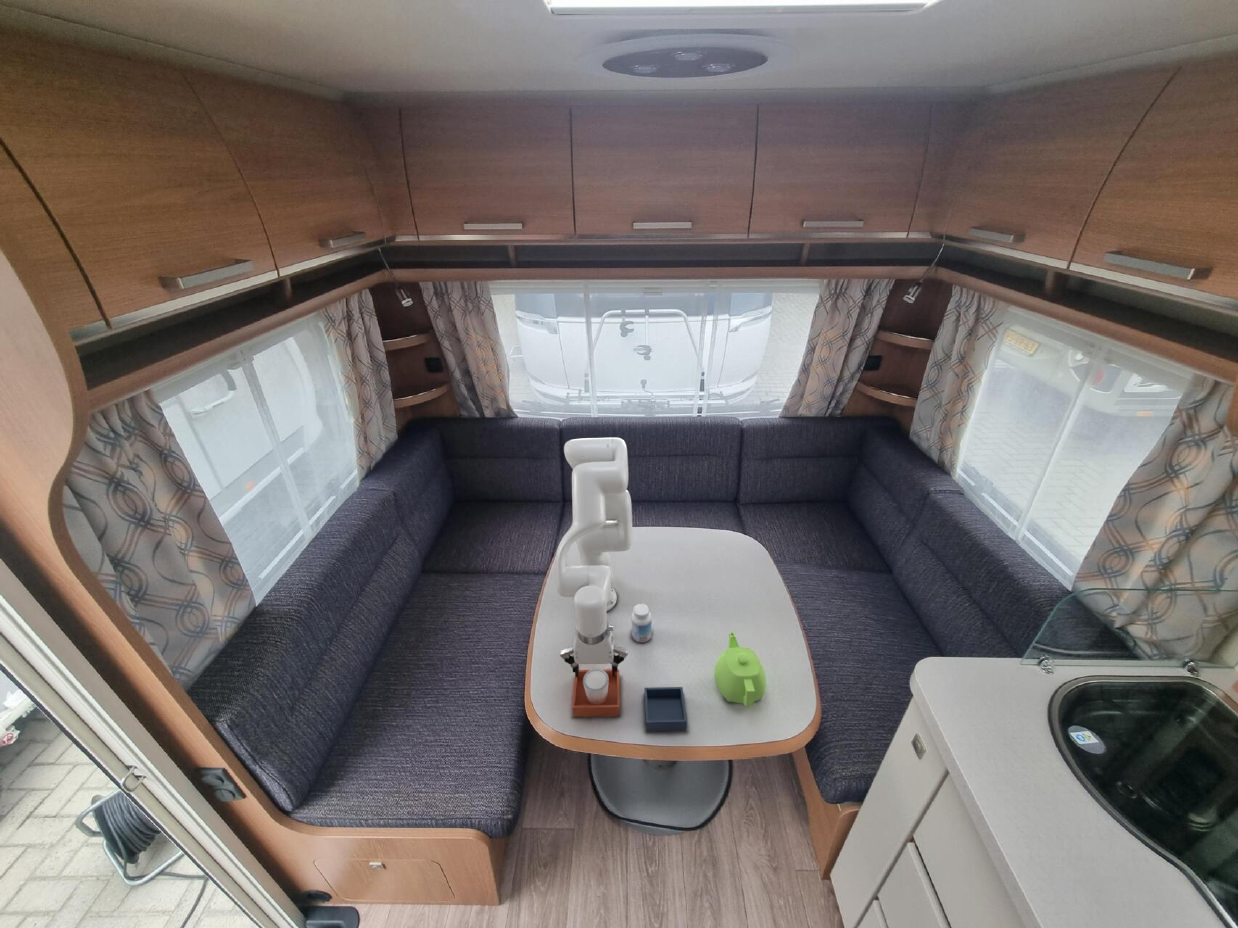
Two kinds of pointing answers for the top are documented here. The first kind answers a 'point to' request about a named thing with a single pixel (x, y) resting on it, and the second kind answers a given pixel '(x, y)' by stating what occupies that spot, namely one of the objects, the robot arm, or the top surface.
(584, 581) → the robot arm
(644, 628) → the pill bottle
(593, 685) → the shot glass
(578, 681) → the orange brown square tray
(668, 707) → the bin
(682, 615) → the top surface
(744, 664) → the teapot
